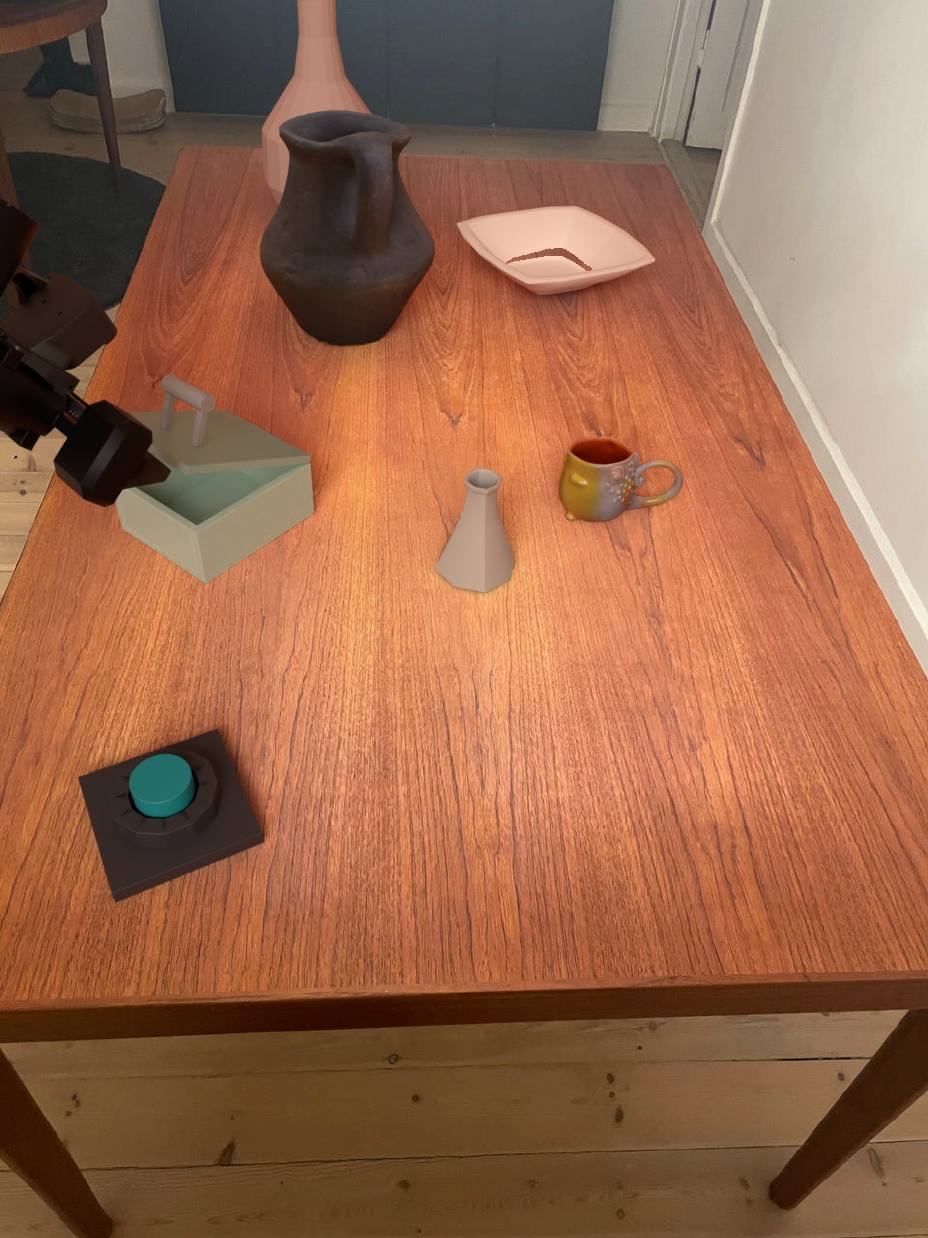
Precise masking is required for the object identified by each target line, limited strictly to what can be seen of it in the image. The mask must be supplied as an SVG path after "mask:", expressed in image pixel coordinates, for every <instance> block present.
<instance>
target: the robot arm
mask: <svg viewBox="0 0 928 1238" xmlns="http://www.w3.org/2000/svg"><path fill="white" fill-rule="evenodd" d="M40 227H41V226H40V224H39V223H38V222H36V221H35V220H34V219H32V218H31V217H30V216H29V215H28V214H26V213H25V212H23V211H21V210H20V209H18V208H17V207H16V206H14V205H13V204H11V203H10V202H8V201H6V200H5V199H3V198H1V197H0V299H1V298H2V296H3V294H4V293H5V292H6V297H7V302H8V303H9V305H8V306H7V307H6V310H7V312H8V313H9V317H8V318H7V319H6V320H5V319H3V318H1V317H0V432H1V433H4V435H6V436H7V437H8V438H9V439H10V440H11V441H13V443H15V445H17V446H18V447H20V448H23V449H25V450H27V451H29V452H32V451H33V449H34V448H35V446H36V444H37V442H38V441H39V439H40V438H41V437H46V436H47V435H49V434H50V433H51V432H52V431H54V429H56V430H57V431H59V432H60V433H61V434H62V435H63V436H65V437H66V439H65V440H64V442H63V444H61V446H60V449H59V450H58V451H57V453H56V454H55V456H54V458H53V459H52V460H53V461H52V462H53V465H54V469H55V474H56V476H57V478H59V480H60V481H62V482H63V483H64V484H65V485H67V487H69V488H70V489H71V490H72V491H73V492H75V493H76V494H77V495H78V496H79V497H80V498H81V499H82V500H84V501H86V502H89V503H92V504H93V505H94V504H95V505H97V506H100V507H102V508H108V507H110V506H113V505H114V504H116V503H115V501H116V500H117V498H118V496H119V495H120V493H121V492H122V490H125V489H129V488H134V487H139V486H145V485H150V484H156V483H161V482H165V481H166V479H167V478H168V476H169V475H170V473H171V469H169V468H168V467H167V466H166V465H165V464H163V463H162V462H161V461H160V460H159V459H157V458H156V457H155V456H154V455H152V454H151V453H150V452H149V451H148V449H149V447H150V446H151V444H152V442H153V436H152V431H151V430H150V429H149V428H147V427H146V426H145V425H143V424H142V423H141V422H140V421H138V420H137V419H136V418H134V417H133V416H132V415H130V414H129V413H127V412H128V411H126V410H124V409H122V408H121V407H119V406H118V405H116V404H115V403H112V402H111V401H109V400H106V399H102V400H98V401H96V402H93V403H90V404H89V403H88V402H87V401H85V400H84V399H83V398H82V397H80V396H79V395H78V394H76V393H75V392H74V391H75V390H76V388H77V387H78V385H79V383H80V382H81V379H79V378H78V377H77V376H75V375H74V374H72V373H71V372H69V371H72V370H75V369H77V368H78V367H80V366H81V365H82V364H83V363H84V362H85V361H87V360H88V359H89V358H90V357H91V356H92V355H93V354H95V353H96V352H97V351H99V350H100V349H101V348H103V346H104V345H105V346H106V345H107V346H108V345H109V344H110V343H111V342H112V341H113V340H114V339H115V338H116V336H117V334H118V328H117V327H116V325H115V323H114V322H113V321H112V319H111V318H110V316H109V315H108V314H107V312H106V311H105V309H104V308H103V307H102V305H101V304H100V303H99V300H98V299H97V298H96V297H95V295H94V294H93V293H92V292H91V291H90V290H88V289H87V288H86V287H83V286H82V285H81V284H79V283H78V282H76V281H75V280H74V279H72V278H71V277H69V276H67V275H64V274H63V275H61V274H60V275H57V274H55V273H54V272H52V271H49V272H48V273H47V274H46V276H47V278H48V279H47V278H46V279H45V278H43V277H42V276H40V275H39V274H37V273H34V272H33V271H31V270H28V269H26V268H24V267H22V266H19V265H20V264H21V262H22V261H23V258H24V256H25V255H26V253H27V251H28V249H29V248H30V245H31V244H32V242H33V241H34V239H35V237H36V235H37V233H38V231H39V229H40Z"/></svg>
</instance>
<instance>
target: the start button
mask: <svg viewBox="0 0 928 1238" xmlns="http://www.w3.org/2000/svg"><path fill="white" fill-rule="evenodd" d="M129 787H130V791H131V794H132V796H133V799H134V802H135V805H136V807H137V808H138V809H139V811H141V812H142V813H143V814H145V815H147V816H150V817H155V818H163V817H169V816H172V815H174V814H177V813H179V812H180V811H182V810H183V809H184V808H186V807H187V806H188V804H189V803H190V802H191V800H192V798H193V796H194V793H195V783H194V779H193V776H192V772H191V768H190V766H189V764H188V763H187V762H186V761H185V760H184V759H183V758H181V757H179V756H176V755H172V754H160V755H155V756H152V757H150V758H147V759H146V760H144V761H142V762H141V763H140V764H139V765H138V766H137V767H136V768H135V769H134V771H133V772H132V774H131V776H130V780H129Z"/></svg>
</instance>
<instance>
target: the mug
mask: <svg viewBox="0 0 928 1238" xmlns="http://www.w3.org/2000/svg"><path fill="white" fill-rule="evenodd" d="M566 451H567V452H566V454H565V456H564V457H563V460H562V461H563V466H562V470H561V473H560V477H559V481H558V496H559V500H560V502H561V504H562V506H563V508H564V510H565V511H566V512H565V519H566V520H568V521H577V520H581V521H584V522H593V523H602V522H608V521H611V520H614V519H617V517H619V516H620V515H621V514H622V513H624V512H626V511H632V510H639V509H646V508H647V509H648V508H652V507H653V508H654V507H656V506H660V505H662V504H664V503H667V502H669V501H670V500H672V499H673V498H675V497H676V496H677V495H678V494H679V493H680V491H681V490H682V488H683V484H684V475H683V473H682V471H681V469H680V468H679V466H677V464H675V463H673V462H672V461H670V460H668V459H665V458H655V459H651V460H648V461H646V462H644V463H642V464H639V463H640V455H639V453H638V452H637V451H636V450H635V451H634V450H633V449H632V448H630V447H629V446H628V445H627V444H626V443H624V442H623V441H621V440H619V439H616V438H614V437H611V436H592V437H584V438H579V439H577V440H575V441H574V442H573V443H571V444H570V445H569V446H568V448H567V450H566ZM653 468H665V469H667V470H669V471H670V472H671V473H672V474H673V477H674V480H673V481H674V482H673V484H672V486H671V487H670V488H669V489H667V490H665V492H663V493H660V494H657V495H650V496H643V495H638V494H637V493H636V492H635V489H636V488H641V487H643V486H645V484H646V478H645V475H643V473H644V472H646V471H647V470H649V469H653Z"/></svg>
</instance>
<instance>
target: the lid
mask: <svg viewBox="0 0 928 1238" xmlns="http://www.w3.org/2000/svg"><path fill="white" fill-rule="evenodd" d="M160 388H161V390H162V391H163V392H164V396H163V402H162V407H161V410H151V411H150V410H148V411H147V410H146V411H145V410H144V411H126V412H127V413H129V414H130V415H132V416H133V417H134V418H136V419H137V420H138V421H140V422H141V423H142V424H143V425H145V426H146V427H147V428H149V429H150V430H151V431H152V436H153V442H152V444H151V446H150V447H149V449H148V451H149V452H150V453H151V454H152V455H154V456H156V457H157V458H159V459H161V460H162V461H164V462H166V463H167V464H169V465H171V466H172V467H174V468H176V469H178V470H179V471H181V472H183V473H184V474H186V475H196V474H206V473H216V472H226V471H237V470H247V469H257V468H267V467H278V466H288V465H298V464H308V463H310V464H311V458H312V455H311V454H310V453H307V452H305V450H304V451H303V450H302V449H300V448H298V447H296V446H294V445H292V444H290V443H289V442H287V441H285V440H283V439H281V438H280V437H277V436H275V435H274V434H272V433H270V432H268V431H266V430H265V429H262V428H261V427H259V426H257V425H255V424H253V423H251V422H250V421H248V420H246V419H244V418H243V417H240V416H238V415H237V414H235V413H233V412H231V411H230V410H228V409H215V406H216V398H215V396H214V395H212V394H210V393H209V392H207V391H205V390H203V389H201V388H199V387H197V386H195V385H193V384H191V383H190V382H188V381H186V380H184V379H182V378H180V377H178V376H177V375H176V374H173V373H166V374H165V375H164V376H163V377H162V379H161V380H160ZM176 399H177V400H178V401H181V402H183V403H185V404H186V405H188V406H190V407H192V408H193V409H194V410H193V409H192V410H190V409H189V410H188V409H186V410H175V405H176Z"/></svg>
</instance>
